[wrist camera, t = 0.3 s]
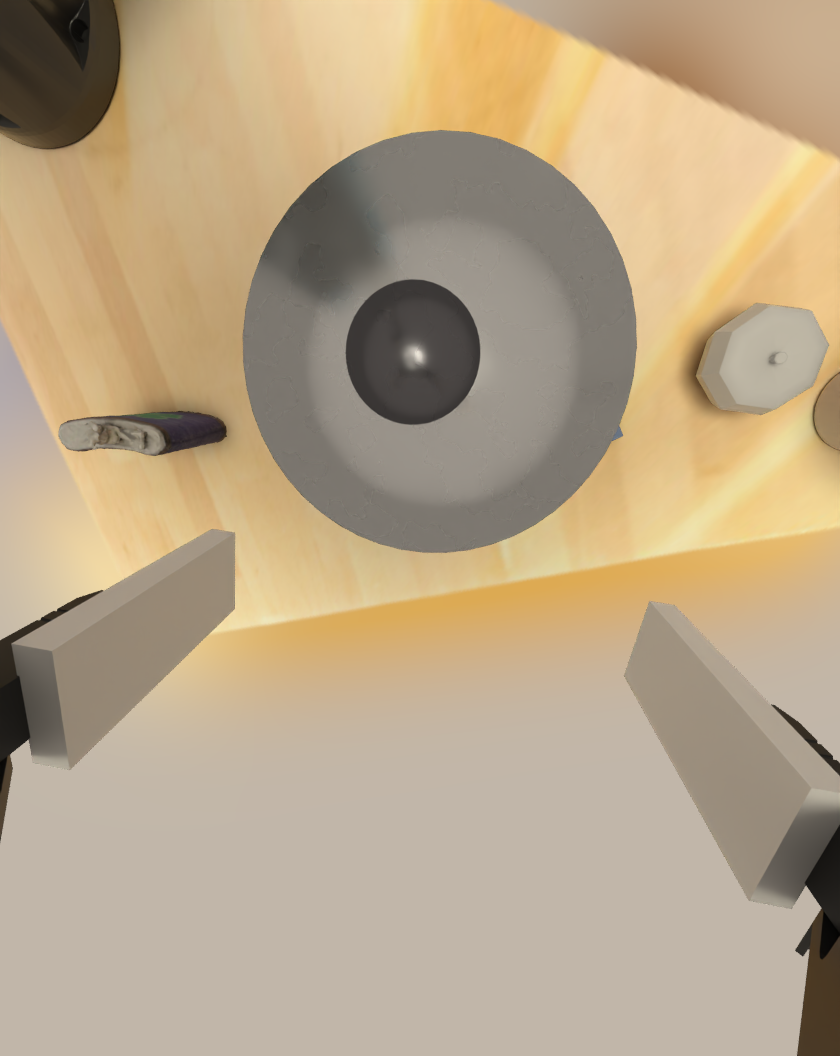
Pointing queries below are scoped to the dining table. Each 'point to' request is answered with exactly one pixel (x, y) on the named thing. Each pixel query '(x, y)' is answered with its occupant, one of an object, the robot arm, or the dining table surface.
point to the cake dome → (439, 341)
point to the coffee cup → (829, 413)
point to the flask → (143, 432)
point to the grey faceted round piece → (762, 358)
